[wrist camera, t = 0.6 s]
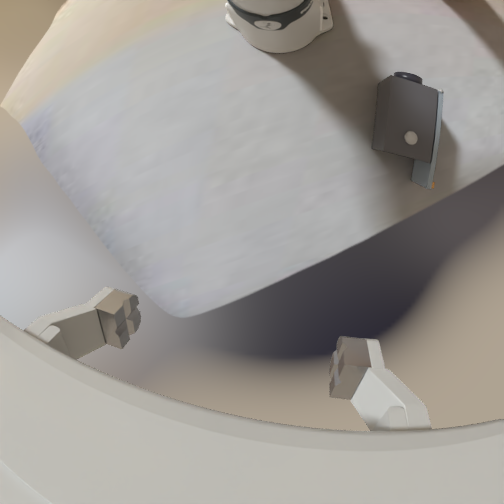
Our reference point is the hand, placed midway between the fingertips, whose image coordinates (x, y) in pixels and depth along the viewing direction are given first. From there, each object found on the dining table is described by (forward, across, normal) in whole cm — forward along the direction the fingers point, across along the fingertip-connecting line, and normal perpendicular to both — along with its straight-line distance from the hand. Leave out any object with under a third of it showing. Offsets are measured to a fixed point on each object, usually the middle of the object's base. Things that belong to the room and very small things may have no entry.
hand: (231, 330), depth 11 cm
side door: (+41, -22, -11) cm, 48 cm away
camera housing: (+42, -17, -13) cm, 47 cm away
